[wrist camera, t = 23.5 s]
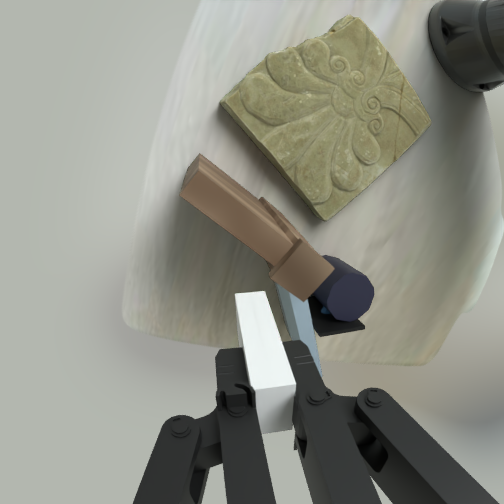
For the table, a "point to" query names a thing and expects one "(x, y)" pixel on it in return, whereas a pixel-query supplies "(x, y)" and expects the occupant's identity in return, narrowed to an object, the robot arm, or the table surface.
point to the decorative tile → (329, 114)
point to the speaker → (340, 300)
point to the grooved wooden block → (256, 227)
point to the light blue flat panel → (298, 321)
